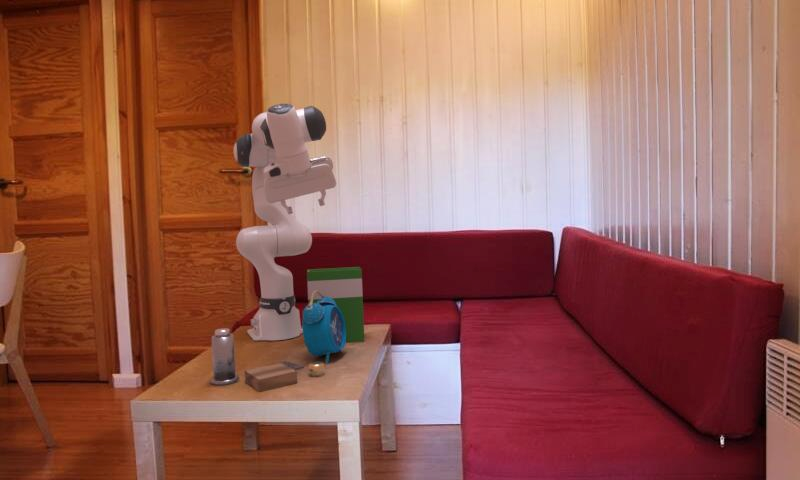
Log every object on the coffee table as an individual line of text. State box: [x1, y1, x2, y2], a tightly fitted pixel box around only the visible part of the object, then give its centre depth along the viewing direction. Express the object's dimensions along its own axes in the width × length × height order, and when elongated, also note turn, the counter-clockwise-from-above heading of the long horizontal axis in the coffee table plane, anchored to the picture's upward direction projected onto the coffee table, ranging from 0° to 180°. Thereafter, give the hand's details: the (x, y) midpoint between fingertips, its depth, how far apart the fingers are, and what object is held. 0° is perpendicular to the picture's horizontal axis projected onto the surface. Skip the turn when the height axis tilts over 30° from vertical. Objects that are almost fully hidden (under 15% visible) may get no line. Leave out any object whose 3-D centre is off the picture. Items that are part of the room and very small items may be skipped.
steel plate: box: [280, 361, 305, 371], centre depth 150 cm, size 8×6×1 cm
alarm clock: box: [301, 290, 346, 364], centre depth 160 cm, size 17×10×20 cm, turn 168°
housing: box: [210, 327, 240, 387], centre depth 140 cm, size 7×7×14 cm
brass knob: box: [308, 361, 325, 378], centre depth 143 cm, size 4×4×3 cm
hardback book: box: [306, 266, 365, 344], centre depth 179 cm, size 18×7×24 cm, turn 99°
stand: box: [244, 362, 298, 393], centre depth 138 cm, size 10×10×3 cm
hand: (306, 209), depth 156 cm, fingers open, 8 cm apart
